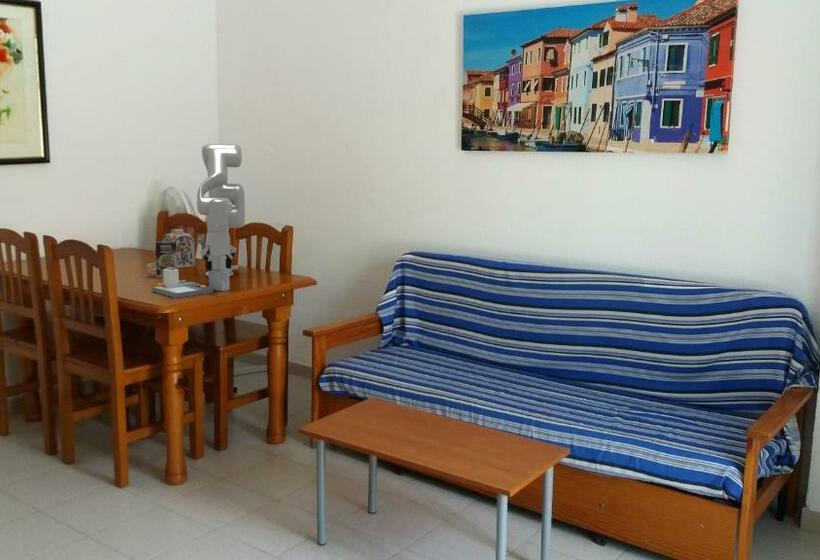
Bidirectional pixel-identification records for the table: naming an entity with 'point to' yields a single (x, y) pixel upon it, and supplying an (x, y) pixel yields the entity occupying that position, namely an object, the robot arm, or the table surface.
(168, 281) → the toggle
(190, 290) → the panel
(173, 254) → the coffee box
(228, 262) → the robot arm
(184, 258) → the decorative jar
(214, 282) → the medicine box
